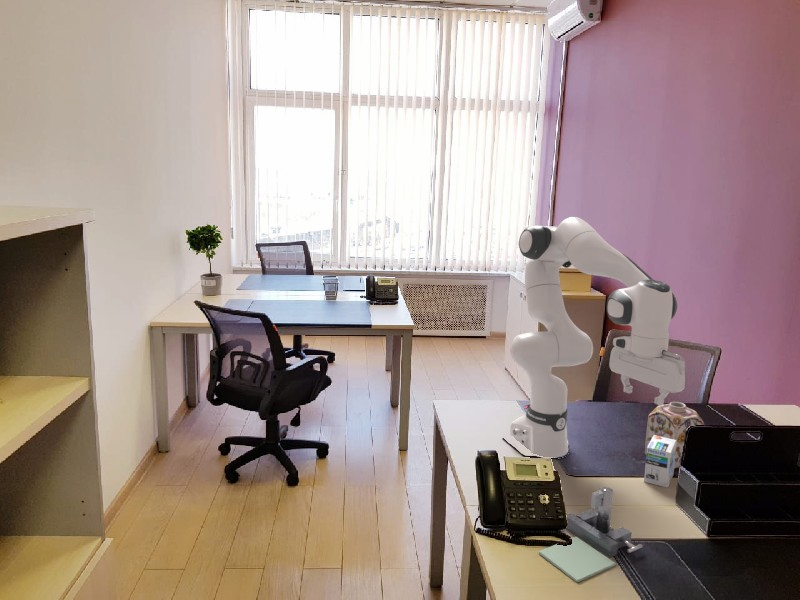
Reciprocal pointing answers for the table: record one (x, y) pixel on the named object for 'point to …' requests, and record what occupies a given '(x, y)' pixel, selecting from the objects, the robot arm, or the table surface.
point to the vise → (599, 534)
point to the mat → (577, 559)
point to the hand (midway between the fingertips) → (642, 398)
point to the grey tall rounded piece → (603, 509)
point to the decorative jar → (671, 425)
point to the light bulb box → (660, 461)
